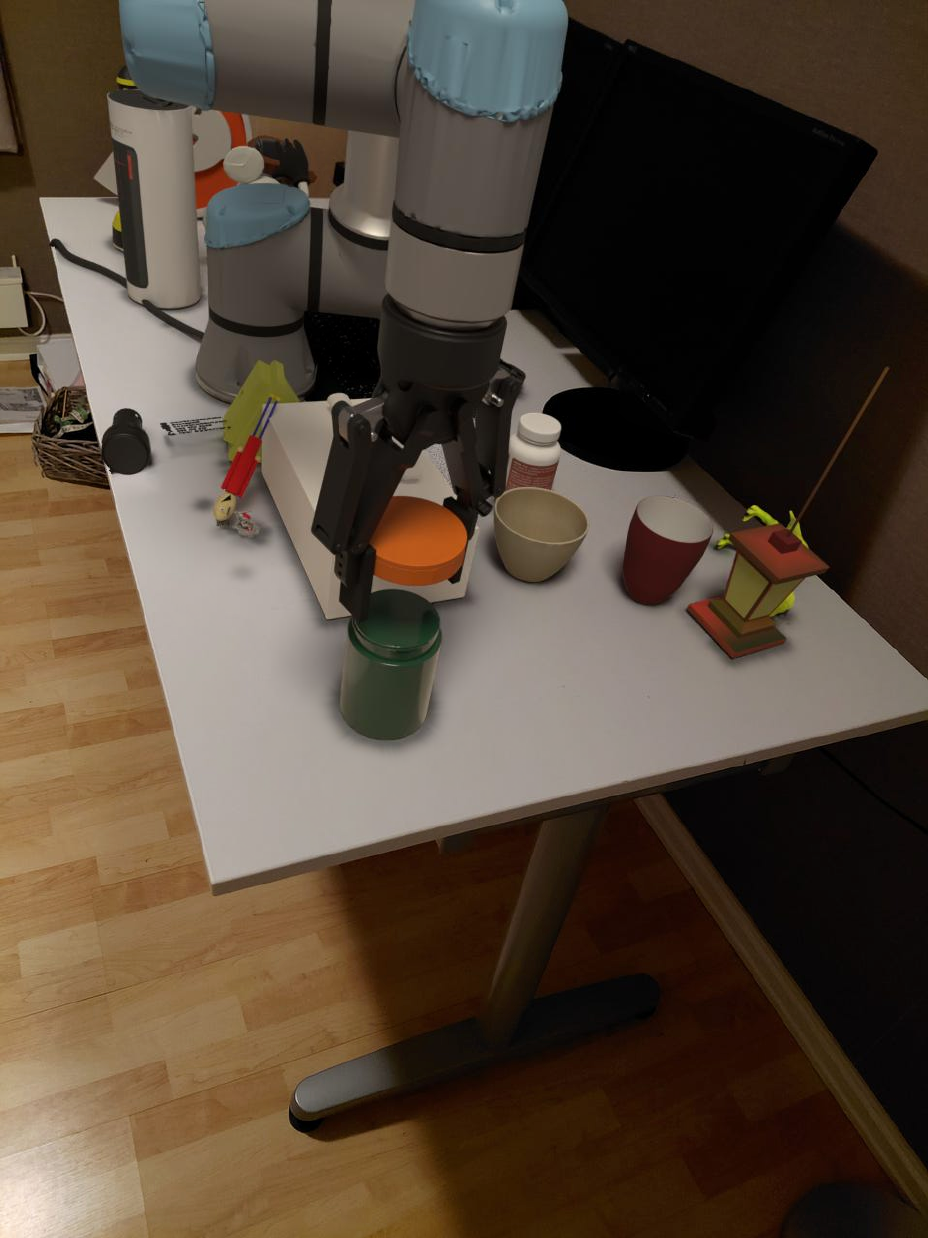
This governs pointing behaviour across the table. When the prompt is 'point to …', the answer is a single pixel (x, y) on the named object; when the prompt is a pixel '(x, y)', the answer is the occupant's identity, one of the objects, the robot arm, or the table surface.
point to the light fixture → (762, 580)
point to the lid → (418, 542)
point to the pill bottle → (533, 452)
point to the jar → (390, 665)
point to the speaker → (156, 197)
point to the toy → (250, 164)
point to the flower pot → (537, 531)
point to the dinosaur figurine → (768, 521)
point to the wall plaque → (203, 153)
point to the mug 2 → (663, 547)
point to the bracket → (255, 404)
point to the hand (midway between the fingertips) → (401, 590)
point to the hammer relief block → (295, 483)
